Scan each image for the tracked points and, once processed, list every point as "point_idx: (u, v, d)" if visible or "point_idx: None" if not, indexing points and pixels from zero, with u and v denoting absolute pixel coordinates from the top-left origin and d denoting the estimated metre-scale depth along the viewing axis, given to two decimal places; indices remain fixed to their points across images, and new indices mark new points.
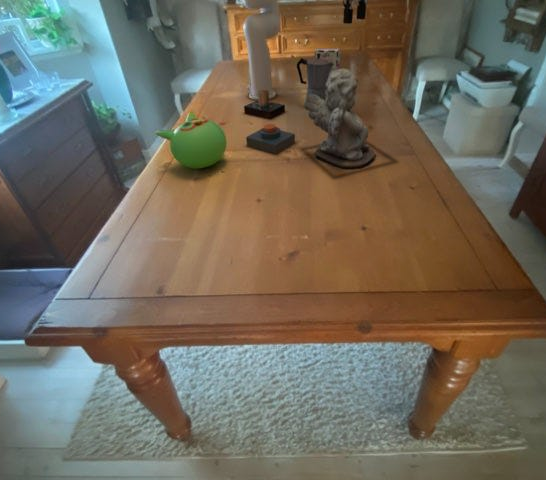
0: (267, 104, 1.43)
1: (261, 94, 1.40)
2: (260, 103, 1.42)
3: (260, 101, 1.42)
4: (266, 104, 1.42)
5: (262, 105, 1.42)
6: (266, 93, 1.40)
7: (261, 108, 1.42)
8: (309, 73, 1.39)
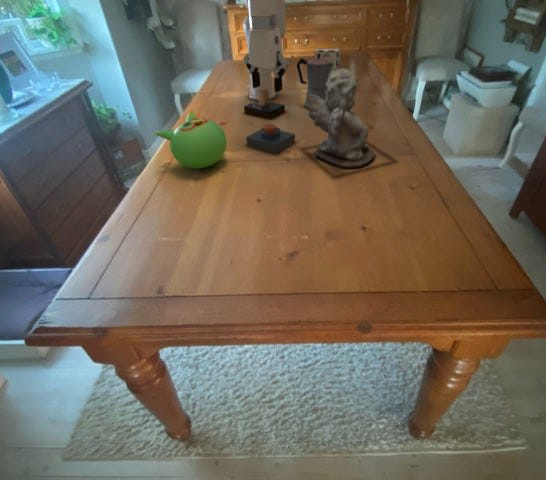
0: (267, 104, 1.43)
1: (261, 94, 1.40)
2: (260, 103, 1.42)
3: (260, 101, 1.42)
4: (266, 104, 1.42)
5: (262, 105, 1.42)
6: (266, 93, 1.40)
7: (261, 108, 1.42)
8: (309, 73, 1.39)
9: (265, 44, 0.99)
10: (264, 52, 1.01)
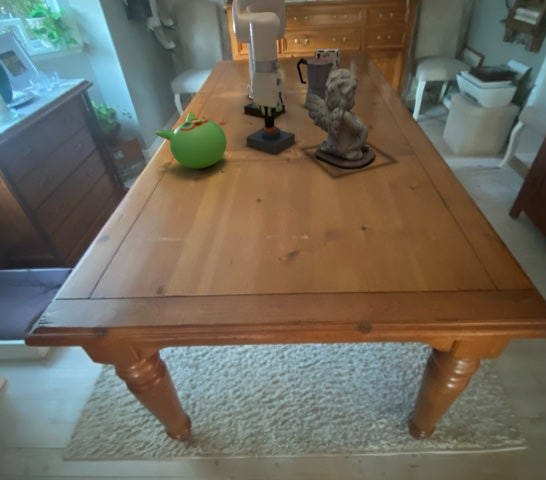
0: None
1: None
2: None
3: None
4: None
5: None
6: None
7: None
8: (309, 73, 1.39)
9: (268, 85, 1.07)
10: (267, 92, 1.08)
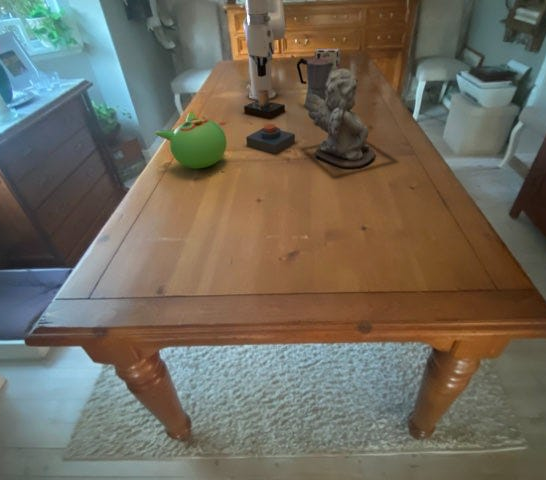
0: (267, 104, 1.43)
1: (261, 94, 1.40)
2: (260, 103, 1.42)
3: (260, 101, 1.42)
4: (266, 104, 1.42)
5: (262, 105, 1.42)
6: (266, 93, 1.40)
7: (261, 108, 1.42)
8: (309, 73, 1.39)
9: (260, 36, 1.24)
10: (259, 43, 1.26)
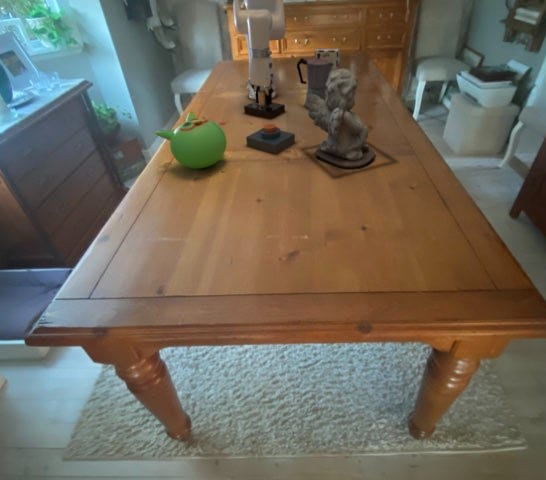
0: None
1: (261, 94, 1.40)
2: (260, 103, 1.42)
3: (260, 101, 1.42)
4: None
5: (262, 105, 1.42)
6: None
7: (261, 108, 1.42)
8: (309, 73, 1.39)
9: (262, 69, 1.32)
10: (261, 74, 1.34)
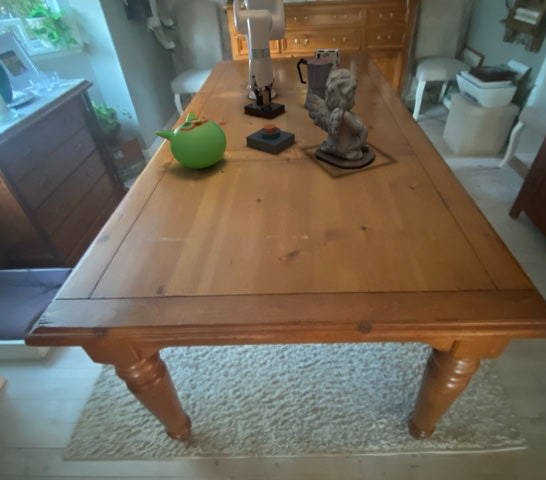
0: None
1: (268, 93, 1.41)
2: (267, 103, 1.42)
3: (267, 100, 1.42)
4: None
5: None
6: None
7: (261, 108, 1.42)
8: (309, 73, 1.39)
9: (269, 66, 1.35)
10: (269, 72, 1.36)
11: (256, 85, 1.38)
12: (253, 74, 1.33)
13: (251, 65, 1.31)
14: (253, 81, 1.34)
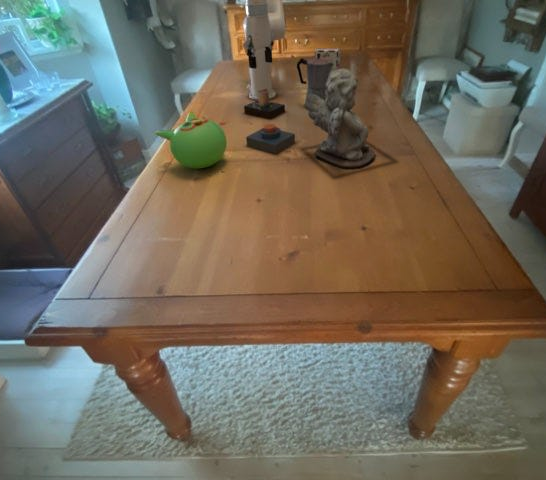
0: None
1: (268, 93, 1.41)
2: (267, 103, 1.42)
3: (267, 100, 1.42)
4: None
5: None
6: None
7: (261, 108, 1.42)
8: (309, 73, 1.39)
9: (267, 26, 1.26)
10: (266, 33, 1.27)
11: (251, 46, 1.28)
12: (249, 34, 1.24)
13: (247, 24, 1.23)
14: (248, 39, 1.24)
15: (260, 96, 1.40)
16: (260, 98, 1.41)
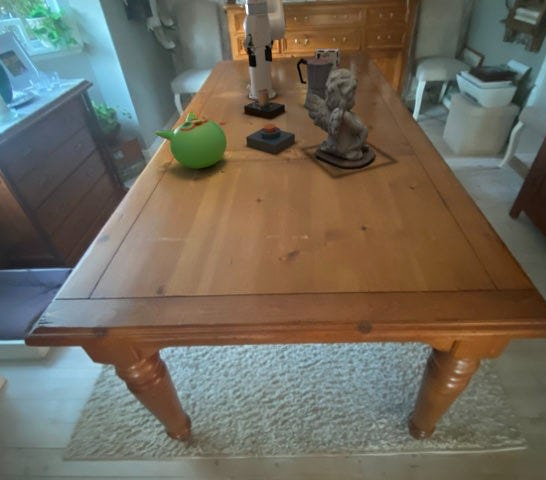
0: None
1: (268, 93, 1.41)
2: (267, 103, 1.42)
3: (267, 100, 1.42)
4: None
5: None
6: None
7: (261, 108, 1.42)
8: (309, 73, 1.39)
9: (267, 24, 1.26)
10: (266, 31, 1.27)
11: (251, 44, 1.28)
12: (249, 32, 1.24)
13: (247, 22, 1.22)
14: (248, 37, 1.24)
15: (260, 96, 1.40)
16: (260, 98, 1.41)
